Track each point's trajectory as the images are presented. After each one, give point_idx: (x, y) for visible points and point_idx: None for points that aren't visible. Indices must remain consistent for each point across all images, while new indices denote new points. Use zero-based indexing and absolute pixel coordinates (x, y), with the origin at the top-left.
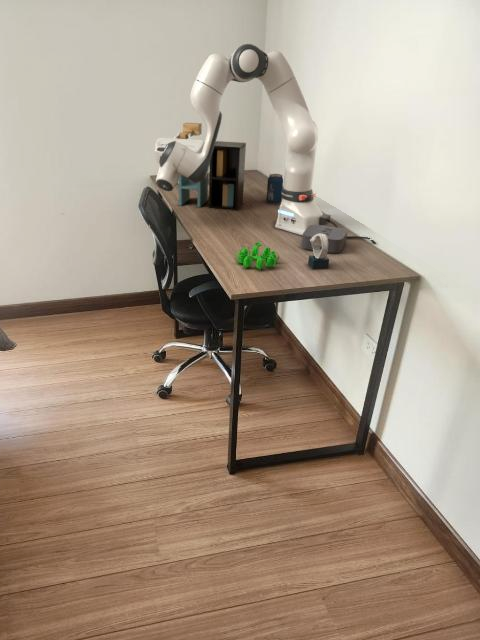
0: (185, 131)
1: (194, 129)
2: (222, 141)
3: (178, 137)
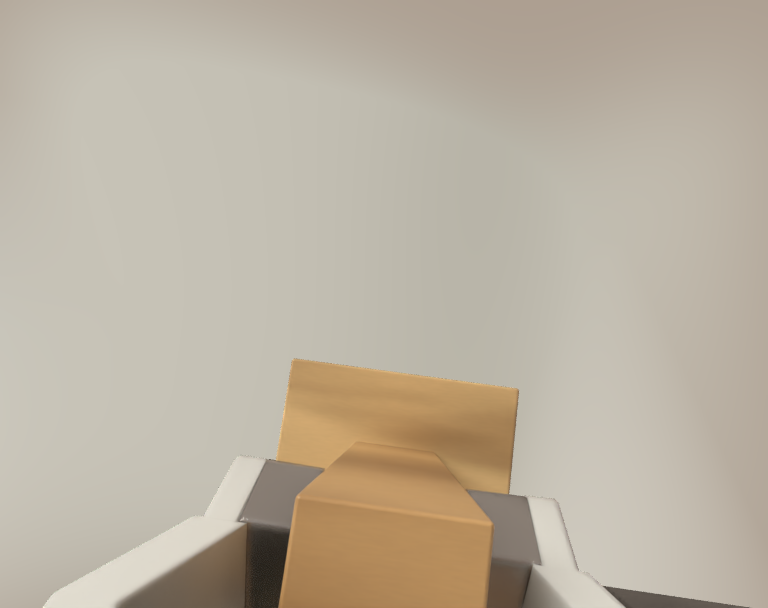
0: (355, 453)
1: (453, 443)
2: (641, 592)
3: (221, 587)
